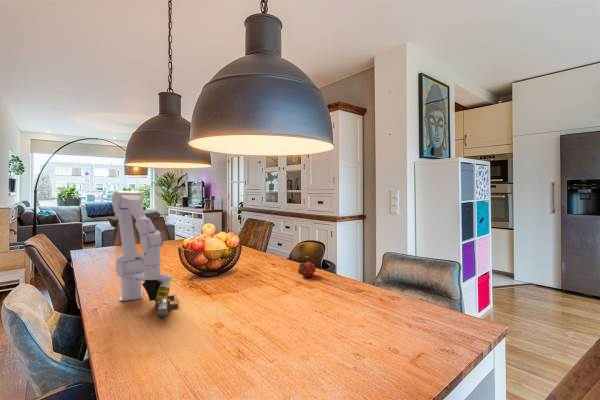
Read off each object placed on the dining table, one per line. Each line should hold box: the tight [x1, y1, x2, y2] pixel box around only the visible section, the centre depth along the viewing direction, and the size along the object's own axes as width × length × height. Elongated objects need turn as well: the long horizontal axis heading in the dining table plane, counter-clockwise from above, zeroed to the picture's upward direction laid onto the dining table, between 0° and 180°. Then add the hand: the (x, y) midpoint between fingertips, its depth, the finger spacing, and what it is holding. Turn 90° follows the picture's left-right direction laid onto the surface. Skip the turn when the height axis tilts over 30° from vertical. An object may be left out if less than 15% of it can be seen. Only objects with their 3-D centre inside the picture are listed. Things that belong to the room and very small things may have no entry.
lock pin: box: [156, 298, 169, 320], centre depth 106 cm, size 13×3×3 cm, turn 24°
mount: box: [154, 294, 179, 315], centre depth 116 cm, size 14×8×4 cm, turn 24°
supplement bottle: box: [153, 281, 172, 304], centre depth 119 cm, size 5×5×8 cm
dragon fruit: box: [297, 261, 317, 278], centre depth 157 cm, size 8×8×12 cm
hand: (152, 300), depth 115 cm, fingers closed
